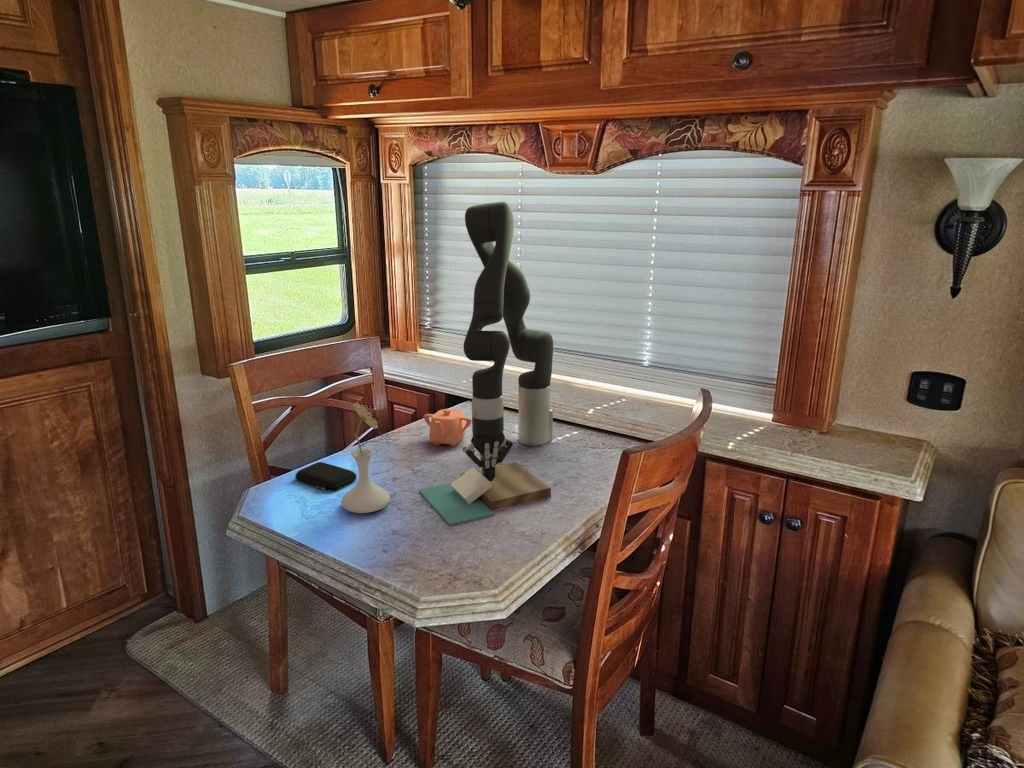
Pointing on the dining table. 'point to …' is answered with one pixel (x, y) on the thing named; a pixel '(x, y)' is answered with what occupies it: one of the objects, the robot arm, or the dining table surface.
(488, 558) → the dining table surface
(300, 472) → the carrying case or bag
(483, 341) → the robot arm
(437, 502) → the mat
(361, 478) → the flower in vase
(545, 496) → the brown wooden board
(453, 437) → the teapot
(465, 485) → the tile
